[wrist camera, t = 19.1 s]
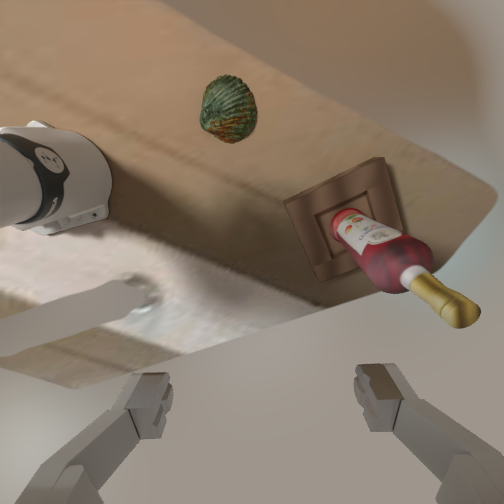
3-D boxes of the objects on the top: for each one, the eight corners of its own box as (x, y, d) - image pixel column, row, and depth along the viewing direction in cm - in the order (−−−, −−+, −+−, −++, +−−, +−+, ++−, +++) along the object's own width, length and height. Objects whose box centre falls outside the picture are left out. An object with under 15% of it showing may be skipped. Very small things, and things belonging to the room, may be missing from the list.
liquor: (331, 247, 48) (424, 358, 22) (321, 214, 45) (412, 295, 19) (368, 233, 47) (511, 334, 21) (360, 199, 44) (511, 264, 18)
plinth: (315, 275, 52) (319, 283, 49) (283, 201, 46) (285, 204, 43) (397, 241, 49) (407, 247, 46) (374, 157, 43) (384, 157, 40)
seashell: (265, 126, 38) (208, 150, 39) (265, 130, 42) (213, 152, 43) (242, 55, 35) (181, 84, 37) (244, 67, 39) (189, 93, 40)
